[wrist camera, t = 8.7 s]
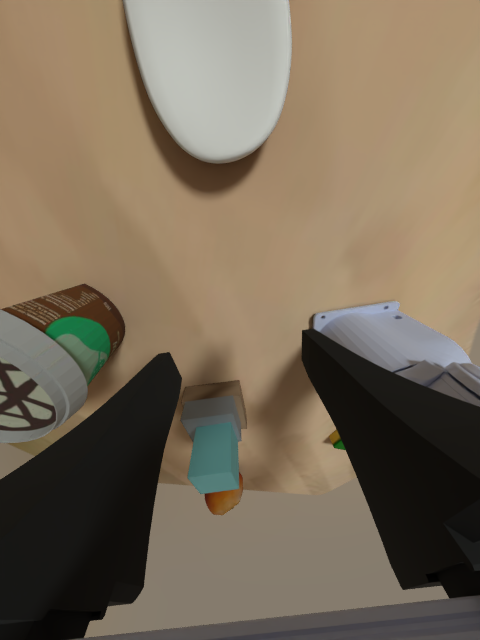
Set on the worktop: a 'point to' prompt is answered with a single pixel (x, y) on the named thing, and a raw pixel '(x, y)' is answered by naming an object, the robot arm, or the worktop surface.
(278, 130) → the worktop surface
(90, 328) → the food container
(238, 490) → the fruit
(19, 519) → the robot arm
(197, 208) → the worktop surface
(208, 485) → the teal block
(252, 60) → the spoon
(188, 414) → the gray block
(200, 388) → the walnut slab
